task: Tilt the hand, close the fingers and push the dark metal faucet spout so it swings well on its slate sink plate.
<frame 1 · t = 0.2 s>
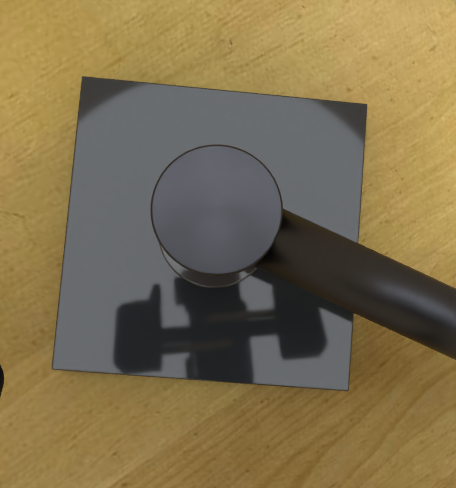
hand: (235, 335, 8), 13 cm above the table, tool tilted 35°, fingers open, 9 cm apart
faucet: (214, 234, 22), on the table
spout: (410, 305, 14), point 8 cm above the table, hinge at 0.0°
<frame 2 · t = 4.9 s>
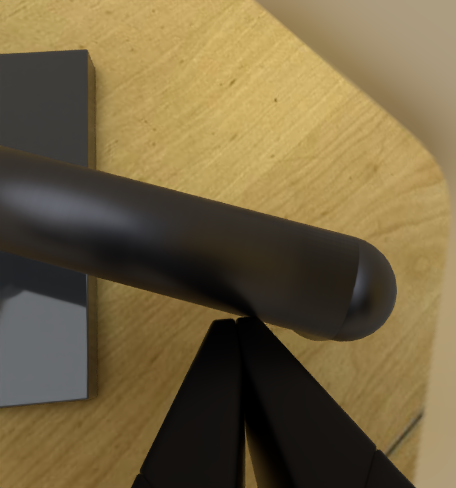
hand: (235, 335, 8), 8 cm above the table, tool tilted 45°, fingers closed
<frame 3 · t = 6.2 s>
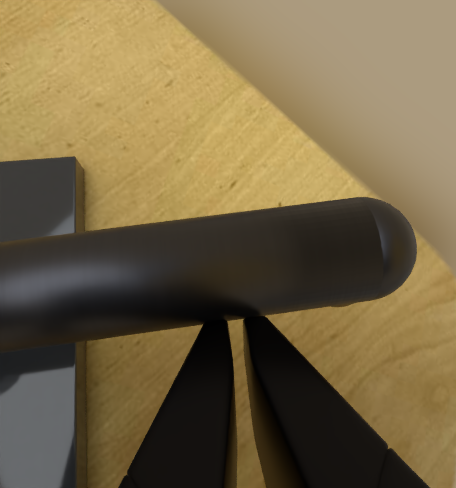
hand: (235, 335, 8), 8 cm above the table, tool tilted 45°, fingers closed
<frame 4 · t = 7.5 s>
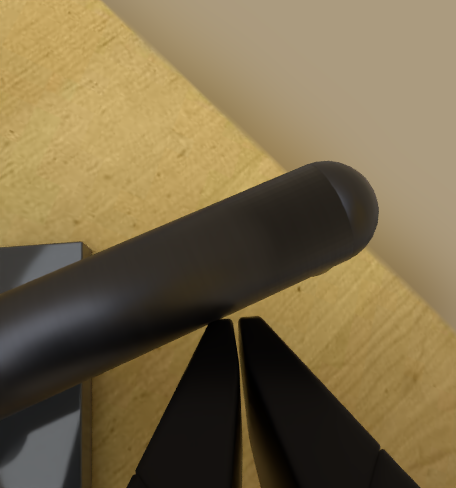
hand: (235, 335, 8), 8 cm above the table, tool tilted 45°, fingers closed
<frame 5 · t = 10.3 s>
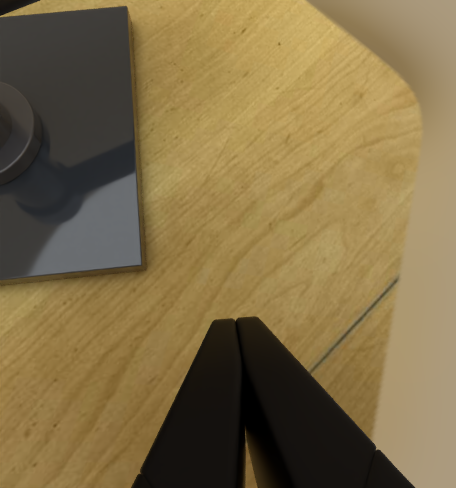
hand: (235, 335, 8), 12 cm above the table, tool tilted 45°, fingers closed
faucet: (1, 150, 22), on the table
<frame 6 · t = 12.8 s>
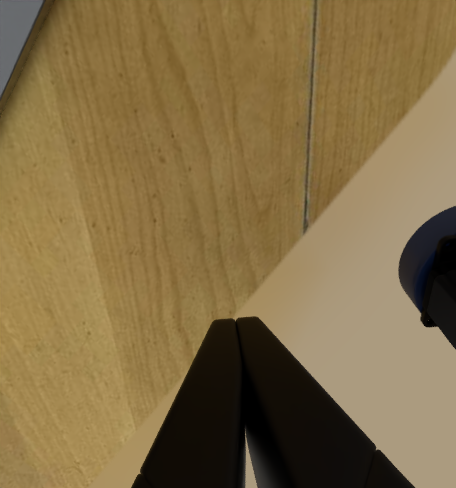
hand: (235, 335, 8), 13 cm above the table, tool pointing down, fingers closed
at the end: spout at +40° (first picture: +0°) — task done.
